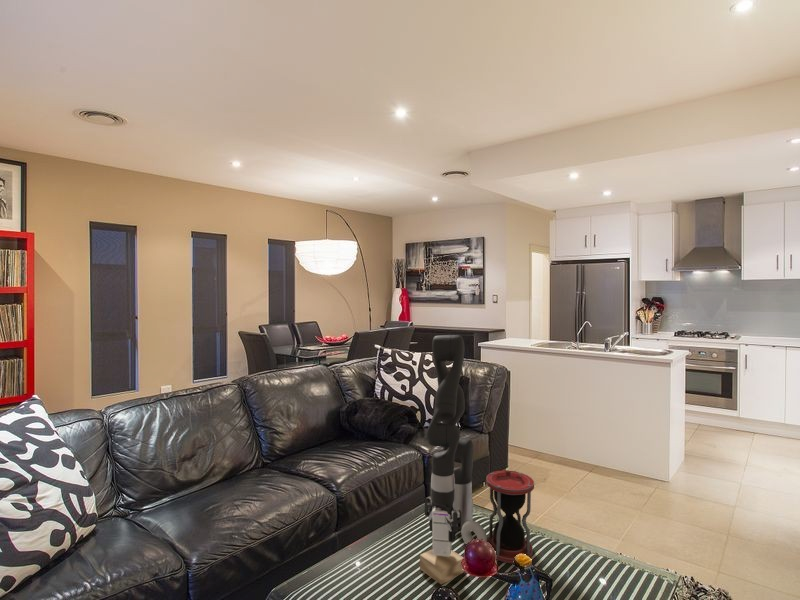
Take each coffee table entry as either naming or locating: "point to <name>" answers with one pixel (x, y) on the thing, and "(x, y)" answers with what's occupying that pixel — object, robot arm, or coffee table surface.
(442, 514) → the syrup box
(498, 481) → the hourglass
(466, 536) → the donut
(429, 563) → the oak block
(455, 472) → the robot arm
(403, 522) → the coffee table surface
